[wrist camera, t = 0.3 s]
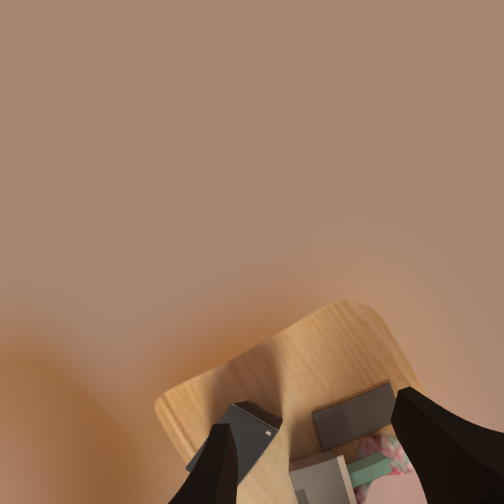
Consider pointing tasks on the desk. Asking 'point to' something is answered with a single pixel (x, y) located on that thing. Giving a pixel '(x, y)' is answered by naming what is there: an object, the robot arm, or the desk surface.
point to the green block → (368, 469)
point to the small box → (247, 434)
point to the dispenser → (321, 479)
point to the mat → (355, 417)
